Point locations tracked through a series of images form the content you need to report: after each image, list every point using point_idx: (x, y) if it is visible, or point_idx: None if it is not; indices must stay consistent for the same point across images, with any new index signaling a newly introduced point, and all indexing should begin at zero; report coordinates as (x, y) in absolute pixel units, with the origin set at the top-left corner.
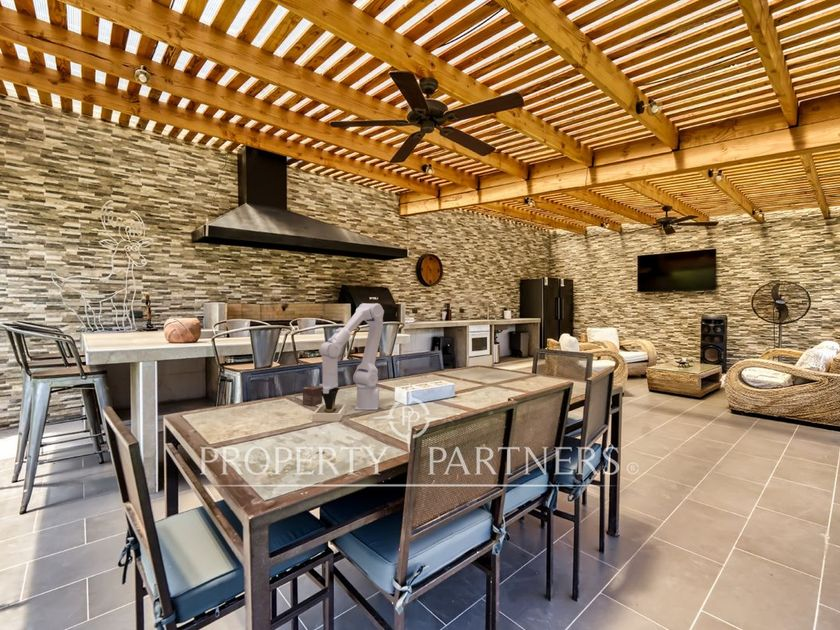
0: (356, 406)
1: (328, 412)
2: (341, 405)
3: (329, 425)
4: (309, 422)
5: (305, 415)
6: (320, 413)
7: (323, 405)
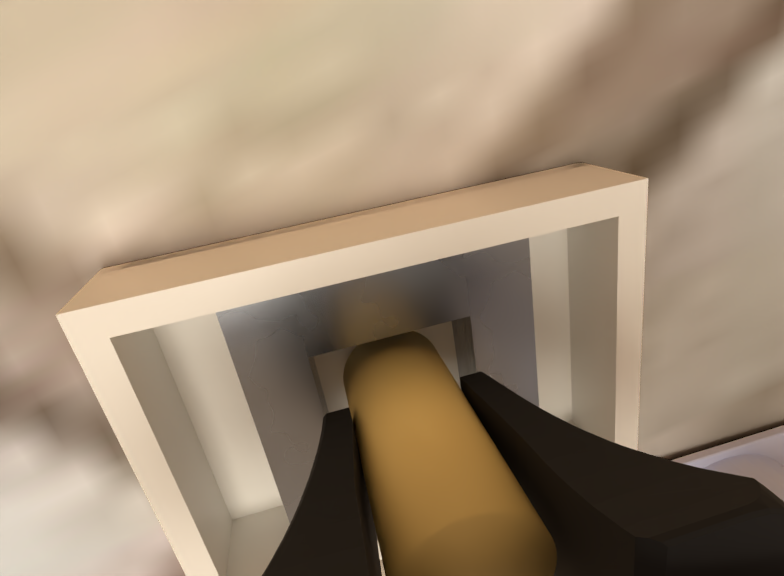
0: (717, 457)
1: (278, 442)
2: (609, 435)
3: (48, 511)
4: (50, 242)
5: (364, 6)
6: (119, 419)
7: (610, 215)
